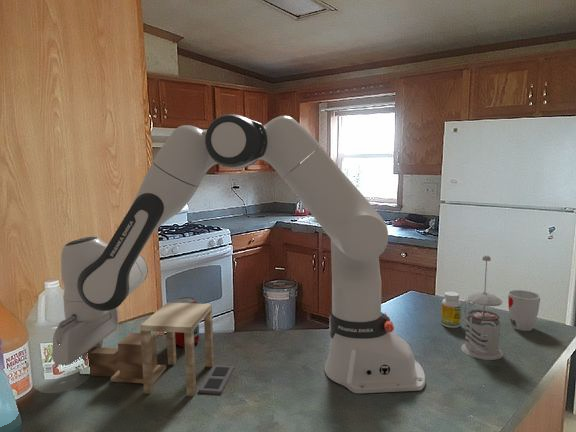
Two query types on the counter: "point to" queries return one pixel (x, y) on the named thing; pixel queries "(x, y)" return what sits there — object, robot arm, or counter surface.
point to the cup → (523, 309)
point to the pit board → (216, 379)
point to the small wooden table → (172, 321)
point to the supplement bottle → (451, 310)
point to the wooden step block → (123, 360)
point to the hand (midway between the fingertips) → (90, 364)
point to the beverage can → (180, 335)
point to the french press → (477, 344)
